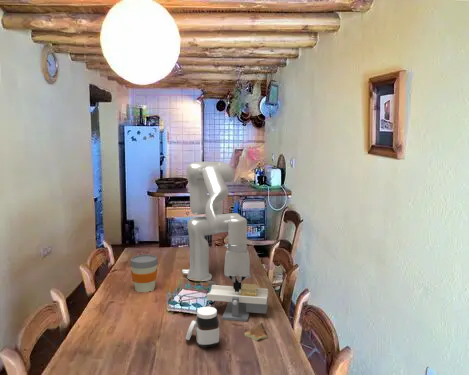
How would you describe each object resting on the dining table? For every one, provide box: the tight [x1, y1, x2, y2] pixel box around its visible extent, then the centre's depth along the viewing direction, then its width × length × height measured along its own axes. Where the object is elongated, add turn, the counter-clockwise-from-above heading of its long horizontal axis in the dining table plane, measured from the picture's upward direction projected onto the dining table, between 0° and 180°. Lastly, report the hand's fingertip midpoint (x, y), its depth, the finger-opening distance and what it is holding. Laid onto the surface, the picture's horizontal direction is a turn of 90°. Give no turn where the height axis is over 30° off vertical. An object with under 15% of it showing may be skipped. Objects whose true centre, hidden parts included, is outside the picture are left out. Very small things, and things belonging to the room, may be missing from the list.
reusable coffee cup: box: [130, 254, 158, 293], centre depth 185 cm, size 13×13×15 cm
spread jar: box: [185, 306, 220, 348], centre depth 138 cm, size 12×11×12 cm
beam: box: [206, 284, 269, 314], centre depth 162 cm, size 24×10×6 cm, turn 81°
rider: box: [241, 282, 258, 297], centre depth 161 cm, size 6×6×4 cm
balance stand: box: [221, 284, 251, 322], centre depth 162 cm, size 10×17×8 cm, turn 171°
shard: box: [244, 322, 269, 342], centre depth 145 cm, size 11×8×2 cm
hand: (237, 290), depth 162 cm, fingers closed
